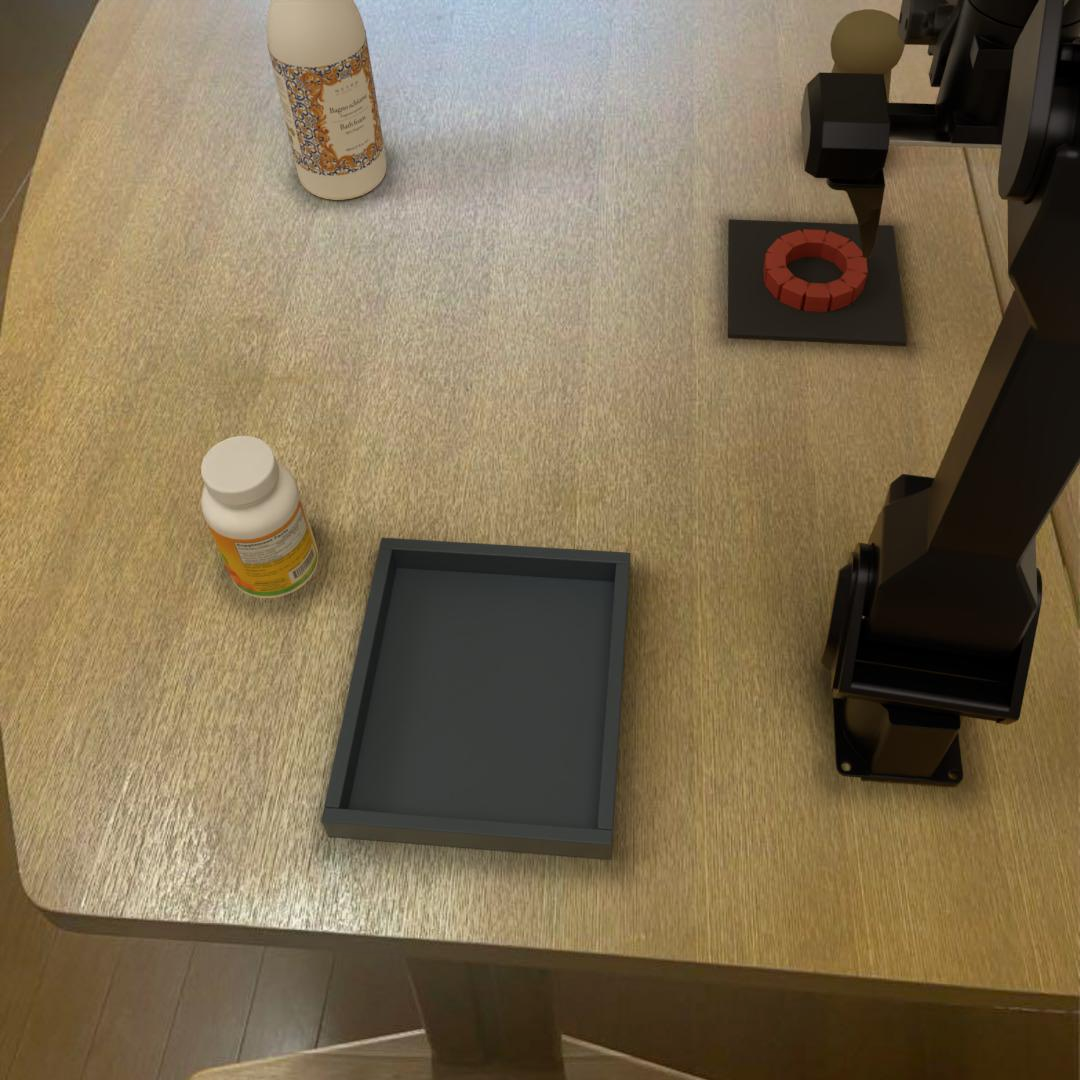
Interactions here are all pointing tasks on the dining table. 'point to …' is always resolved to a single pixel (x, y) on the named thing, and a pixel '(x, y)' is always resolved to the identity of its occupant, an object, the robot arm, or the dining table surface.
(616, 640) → the tray
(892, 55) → the cork
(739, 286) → the mat
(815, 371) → the dining table surface
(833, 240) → the ring
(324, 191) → the bath foam
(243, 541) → the supplement bottle
